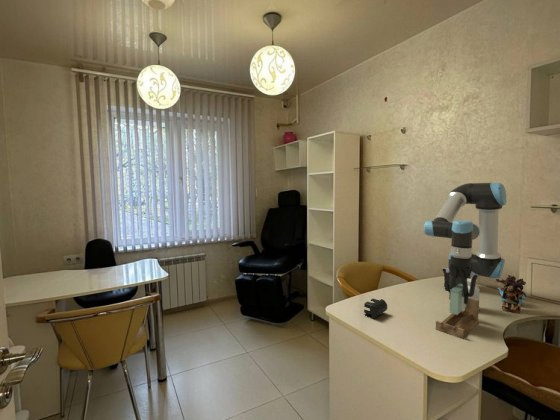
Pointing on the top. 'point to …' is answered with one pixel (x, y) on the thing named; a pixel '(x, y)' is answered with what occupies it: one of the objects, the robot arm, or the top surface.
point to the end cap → (375, 308)
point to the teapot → (519, 299)
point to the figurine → (512, 293)
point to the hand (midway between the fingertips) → (458, 309)
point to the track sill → (461, 320)
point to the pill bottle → (476, 292)
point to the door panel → (456, 299)
